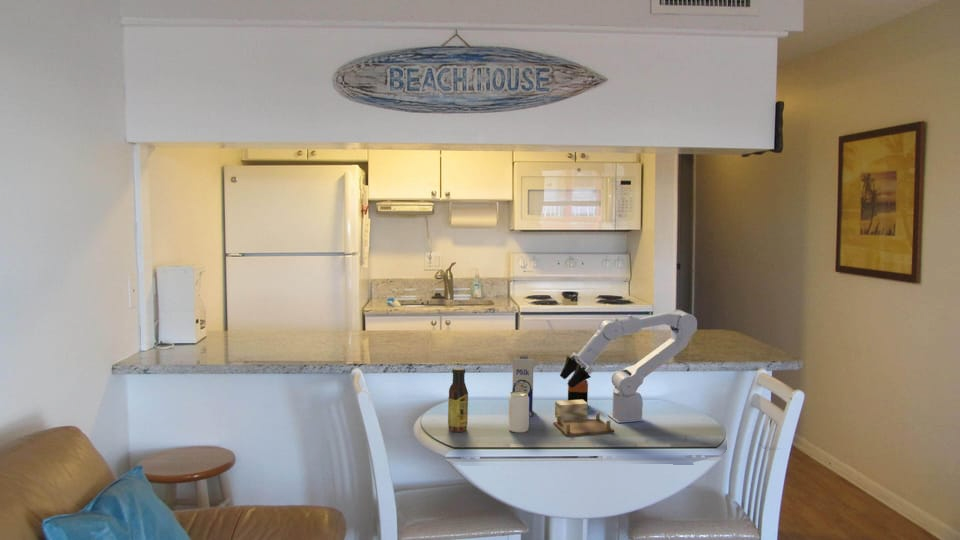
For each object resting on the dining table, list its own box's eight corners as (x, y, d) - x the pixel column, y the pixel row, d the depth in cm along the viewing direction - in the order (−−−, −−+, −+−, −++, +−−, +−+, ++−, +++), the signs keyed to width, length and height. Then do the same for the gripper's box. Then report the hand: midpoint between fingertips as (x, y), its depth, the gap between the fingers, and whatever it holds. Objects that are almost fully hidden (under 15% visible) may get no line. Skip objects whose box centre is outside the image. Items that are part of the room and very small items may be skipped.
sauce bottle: (463, 434, 194) (463, 372, 192) (444, 431, 196) (445, 370, 194) (470, 427, 200) (471, 367, 198) (452, 424, 202) (453, 365, 200)
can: (514, 434, 194) (515, 397, 193) (504, 427, 200) (505, 391, 199) (532, 431, 197) (533, 394, 196) (521, 425, 203) (522, 389, 202)
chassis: (599, 420, 208) (599, 411, 207) (614, 432, 197) (614, 422, 197) (553, 424, 204) (553, 414, 204) (565, 436, 193) (565, 426, 193)
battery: (587, 408, 221) (588, 380, 220) (568, 407, 222) (568, 379, 221) (586, 404, 225) (587, 377, 224) (567, 403, 226) (568, 376, 225)
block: (582, 414, 214) (582, 399, 213) (587, 419, 210) (587, 403, 209) (554, 416, 212) (555, 401, 211) (559, 421, 207) (559, 405, 207)
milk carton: (511, 415, 211) (512, 358, 209) (512, 409, 218) (513, 353, 216) (532, 416, 211) (533, 359, 209) (532, 410, 217) (534, 354, 215)
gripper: (576, 337, 213) (550, 367, 213) (591, 350, 199) (564, 383, 199) (590, 348, 215) (565, 378, 215) (606, 363, 201) (579, 395, 201)
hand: (565, 381), depth 207 cm, fingers open, 7 cm apart
